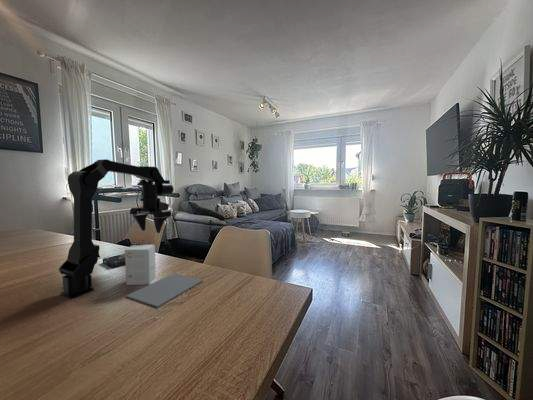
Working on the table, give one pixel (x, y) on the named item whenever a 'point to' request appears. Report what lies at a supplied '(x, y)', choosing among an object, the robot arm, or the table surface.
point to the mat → (164, 290)
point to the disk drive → (114, 261)
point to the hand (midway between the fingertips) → (150, 231)
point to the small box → (140, 264)
